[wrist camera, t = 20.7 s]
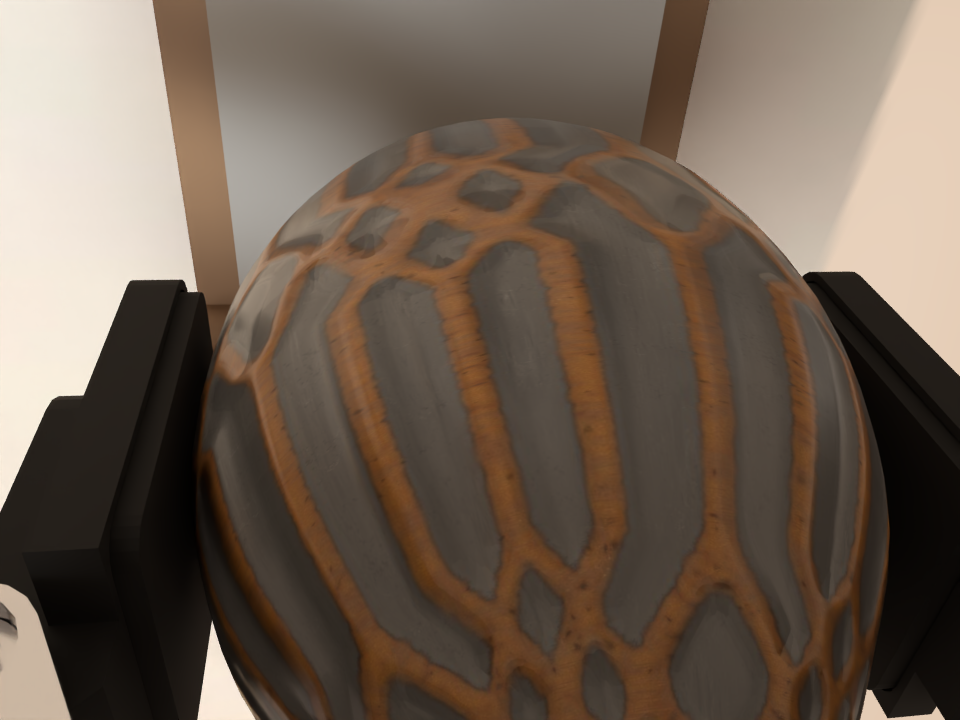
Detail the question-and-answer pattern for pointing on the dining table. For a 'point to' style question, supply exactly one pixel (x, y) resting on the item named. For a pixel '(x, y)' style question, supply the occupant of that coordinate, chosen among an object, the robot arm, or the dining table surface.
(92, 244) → the dining table surface
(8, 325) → the dining table surface
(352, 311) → the vase
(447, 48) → the slot rack
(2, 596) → the robot arm
